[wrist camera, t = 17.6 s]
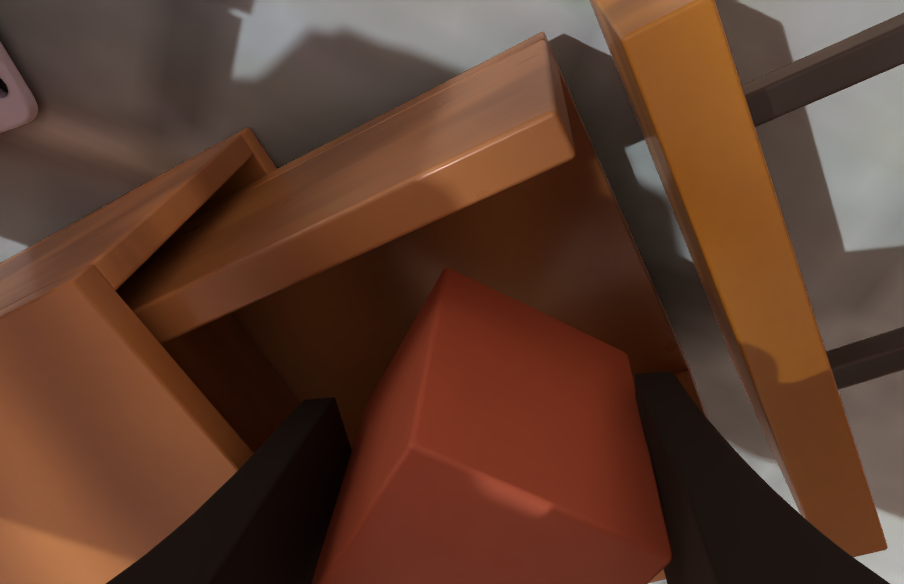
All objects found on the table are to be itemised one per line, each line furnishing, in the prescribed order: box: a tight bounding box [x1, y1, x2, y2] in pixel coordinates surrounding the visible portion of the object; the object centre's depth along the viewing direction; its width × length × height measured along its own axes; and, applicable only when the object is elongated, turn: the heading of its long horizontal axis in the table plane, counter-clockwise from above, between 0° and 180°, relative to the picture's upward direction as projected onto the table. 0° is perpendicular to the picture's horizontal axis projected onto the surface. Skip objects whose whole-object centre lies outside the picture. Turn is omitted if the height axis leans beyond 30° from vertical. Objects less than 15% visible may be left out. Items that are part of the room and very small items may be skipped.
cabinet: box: [0, 127, 277, 584], centre depth 19 cm, size 14×12×8 cm
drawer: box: [116, 0, 904, 583], centre depth 15 cm, size 19×11×6 cm, turn 118°
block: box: [311, 268, 673, 584], centre depth 12 cm, size 4×4×5 cm
